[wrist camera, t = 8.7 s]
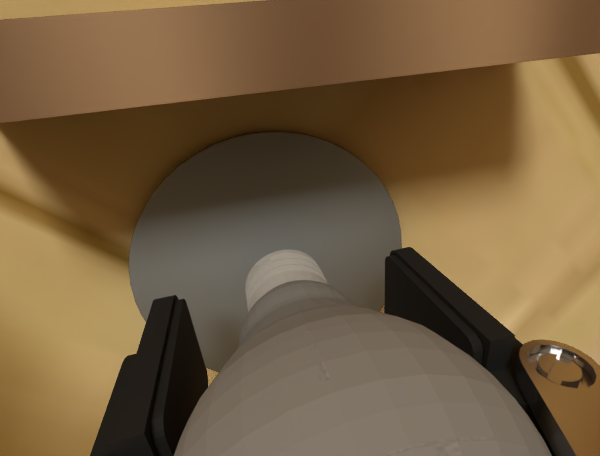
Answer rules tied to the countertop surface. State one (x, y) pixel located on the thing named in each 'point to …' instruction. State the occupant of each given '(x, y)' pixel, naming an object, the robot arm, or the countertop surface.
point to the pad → (260, 229)
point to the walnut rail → (269, 48)
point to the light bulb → (347, 382)
